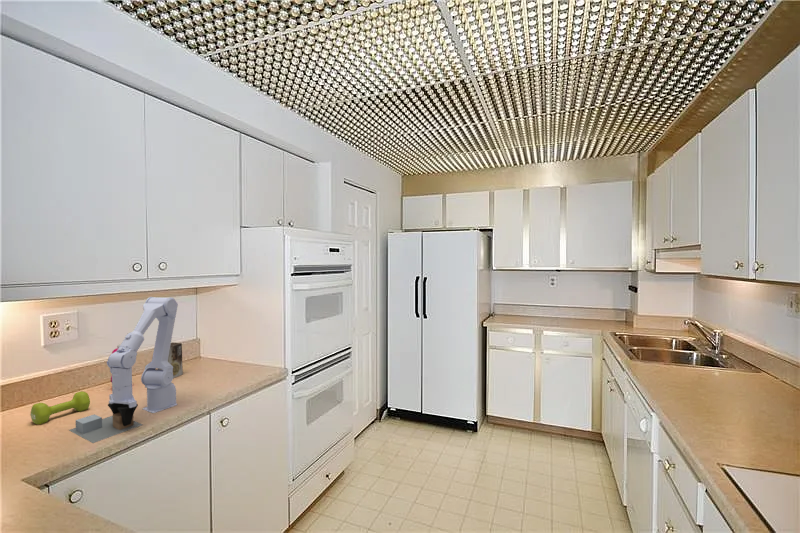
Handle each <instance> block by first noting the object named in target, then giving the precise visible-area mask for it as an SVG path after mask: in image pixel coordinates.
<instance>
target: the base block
mask: <svg viewBox="0 0 800 533" xmlns="http://www.w3.org/2000/svg"><path fill="white" fill-rule="evenodd" d="M102 419H103V417H102V416H99V415H97V414H90V415H88V416H83V417H82V418H78V419H75V428H76V430H77V431H79V432H80V433H82V434H84V433H87V432H90V431H93V430H96V429H99V428H102Z"/></svg>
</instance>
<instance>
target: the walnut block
mask: <svg viewBox="0 0 800 533" xmlns="http://www.w3.org/2000/svg"><path fill="white" fill-rule="evenodd" d="M112 416H113V427H114V428H116V429H118V430H121V429H124V428H127V427H129V426H132V425H134V421H135V420H134V416H135V415H133V417H132V421H131V424H129V425H127V426H123V423H122V417H121V414H120V412H119V413H116V414H113V413H112Z"/></svg>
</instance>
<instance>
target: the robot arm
mask: <svg viewBox="0 0 800 533" xmlns="http://www.w3.org/2000/svg"><path fill="white" fill-rule="evenodd" d="M178 306H179V305H178V302H177V300H176V299H175V298H174V297H171V296H168V297H159V296H158V297H157V296H156V297H154V296H149V297H147V299H146V300H145V302H144V303H143V305H142V309H143V310H142V314H141V316H140V318H139V319H138V322H137V324H136V325H135V327H134V329H133V331H130V332H129V333H127V334H126V335H125V337H124V339H123V340H122V342H121V343H120V344H119V345H120V346H119V348H118V350H117V351H116V352H114V353H112V352H111V354H110V355H109V357H108V359H107V361H106V366H107V367H108V368H109V372H110V374H111V376H112V383H111V390H112V391H111V392H112V393H111V394H109V395H108V396H109V398H108V399H109V400H108V404H107V406H108V408H109V409H110V410H111V413H112V415H113V414H116V413H119V412H120V414H121V417H122V423H123V426H127V425H129V424H131V421H132V417H133V416H134V414H135V411H136V409H137V407H138V406H139V404H138V403H137V400H136V399H135V396H134V395H133V370H132V369H133V366H134V365H135V364H136V363H137V356H138V351H139V350H140V348H141V346H142V344H143V342H144V341H145V336H144V334H145V333H146V332H147V330H148V329H149V328H150V326H151V324H152V323H153V322H154V321H155V319H157V321H158V327H157V331H156V336H155V341H154V348H153V351H152V352H153V353H152V359H151V361H150V362H148V363H147V364H146V365H145V367H144V370H143V371H142V374H141V376H140V380H141V384H142V385H144V388H146V407H142V410H144V411H146V412H148V413H151V414H155V413H158V412H162V411H164V410H166V409H170V408H172V407H175V406H178V403H177V388H176V385H175V384H174V383H173V380H174V378H173V366H172V365H171V364H170V363H169V362H168V356H169V350H170V345H171V343H172V339H173V334H174V327H175V321H176V316H177V311H178ZM158 368H160V369H162V370H160V369H158Z"/></svg>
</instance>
